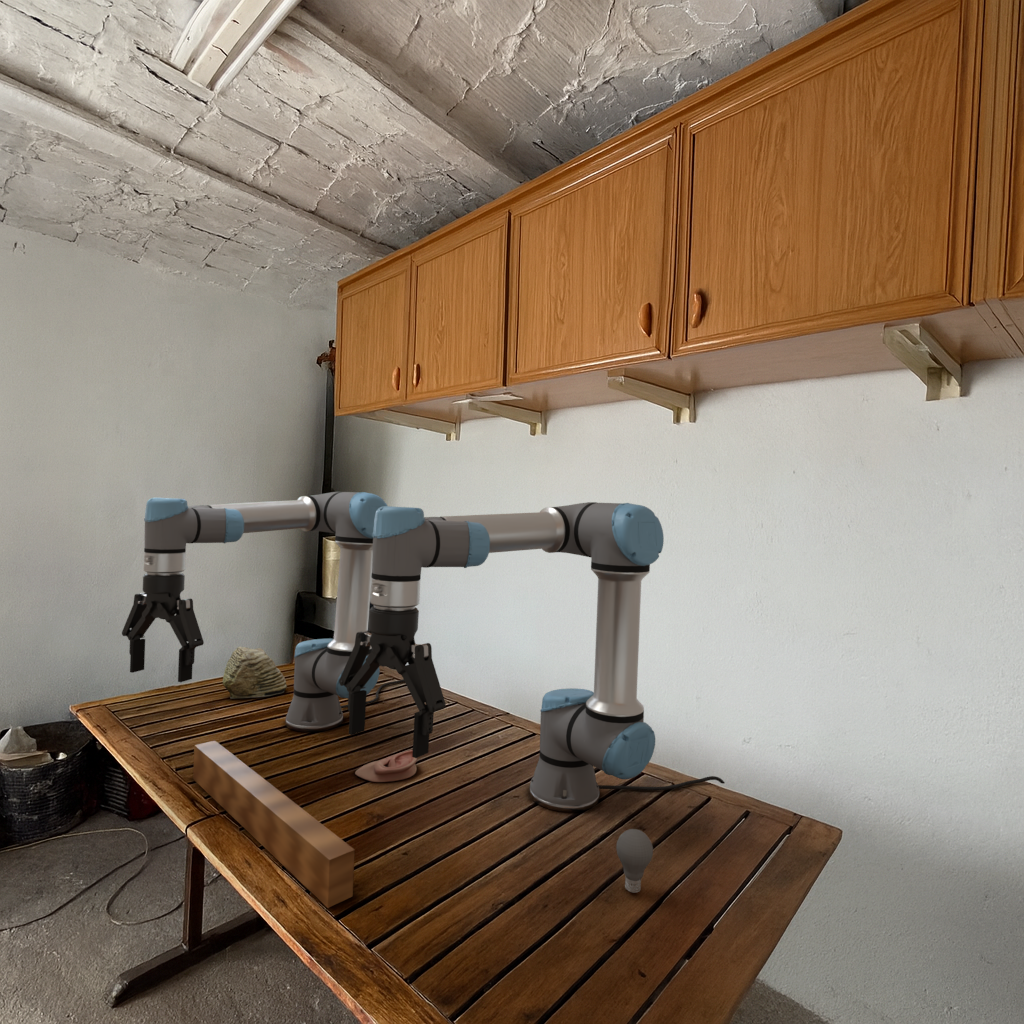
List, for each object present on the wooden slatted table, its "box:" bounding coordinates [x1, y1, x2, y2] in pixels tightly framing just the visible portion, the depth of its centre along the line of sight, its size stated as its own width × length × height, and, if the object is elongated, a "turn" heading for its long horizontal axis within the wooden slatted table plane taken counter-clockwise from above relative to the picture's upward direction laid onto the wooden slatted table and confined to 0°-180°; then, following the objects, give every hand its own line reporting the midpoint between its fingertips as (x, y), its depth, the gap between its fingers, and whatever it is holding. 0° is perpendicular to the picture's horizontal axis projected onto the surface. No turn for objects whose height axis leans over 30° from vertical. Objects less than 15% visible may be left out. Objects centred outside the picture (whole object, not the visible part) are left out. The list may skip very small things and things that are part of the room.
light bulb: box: [615, 828, 654, 894], centre depth 106 cm, size 6×6×10 cm
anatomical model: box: [354, 749, 418, 783], centre depth 147 cm, size 13×4×12 cm
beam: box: [192, 740, 356, 909], centre depth 120 cm, size 59×4×8 cm, turn 45°
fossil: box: [222, 646, 288, 699], centre depth 198 cm, size 9×18×15 cm, turn 132°
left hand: (160, 675), depth 130 cm, fingers open, 13 cm apart
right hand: (387, 743), depth 98 cm, fingers open, 13 cm apart
